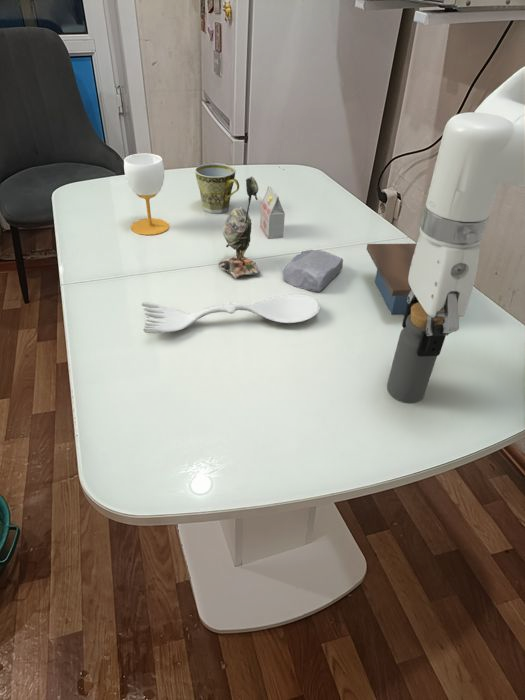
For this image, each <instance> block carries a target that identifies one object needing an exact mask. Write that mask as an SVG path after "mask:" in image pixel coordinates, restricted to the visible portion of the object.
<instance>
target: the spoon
mask: <svg viewBox="0 0 525 700" xmlns="http://www.w3.org/2000/svg"><path fill="white" fill-rule="evenodd" d="M140 304H141V306H142V307H144V308H143V311H145V312H144V313H143V314H144V315H145V316H148V317H146V318H145V320H146V323H145V326H144V329H142V330H143V332H144V333H145V334H161V333H171V332H178V331H181V330H182V331H183V330H184V329H186V328H187V327H189V326H191V325H192V324H193V323H195V322H197V321H198V320H200V319H201V318H203V317H205V316H207V315H212V314H215V313H228V314H234V313H235V312H236V311H246V312H251V313H254V314H256V315H258V316H260V317H261V318H264V319H266V320H269V321H272V322H275V323H281V324H296V323H301V322H305V321H307V320H310V319H312V318H314V317H315V316H317V314H318V313H319V311H320V309H321V308H320V303H319V301H318V299H316V298H315V297H314V296H312V295H309V294H303V293H300V294H299V293H293V294H292V293H291V294H285V295H279V296H278V295H277V296H273V297H269V298H266V299H263V300H261V301H258V302H255V303H251V304H250V303H249V304H244V303H243V304H242V303H241V304H239V303H233V302H226V303H225V304H222V305H213V306H209V307H206V308H203V309H200V310H197V311H195V312H185V311H182V310H180V309H177V308H174V307H168V306H163V305H160V304H157V303H153V302H150V301H143V302H141V303H140Z"/></svg>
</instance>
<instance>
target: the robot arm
mask: <svg viewBox="0 0 525 700" xmlns="http://www.w3.org/2000/svg"><path fill="white" fill-rule="evenodd" d="M502 186H511V187H522V188H525V65H524V66H522V67H521V68H520V69H518V70H517V71H516V72H514V73H513V74H512V75H511V76H510V77H509V78H508V79H506V80H505V81H504V82H503V83H502V84H500V85H499V86H498V87H496V89H495V90H494V91H492V92H491V93H490V94H489V95H488V96H486V98H485V99H483V101H482V102H481V103H480V104H479V105H478V106H477V108H476V109H474V112H473V111H472V112H470V111H469V112H462V113H457V114H455V115H453V116H452V117H450V119H448V121H447V122H446V124H445V126H444V129H443V133H442V137H441V141H440V145H439V149H438V152H437V157H436V161H435V164H434V168H433V173H432V178H431V181H430V185H429V190H428V193H427V198H426V201H425V205H424V210H423V214H422V218H421V221H420V225H419V229H418V230H419V236H418V239H417V242H416V244H417V245H416V248H415V251H414V255H413V258H412V262H411V266H410V271H409V277H408V282H409V287H410V293H409V295H408V297H407V302H408V303H409V304H407V307H406V311H405V314H403V315H404V316H403V319H402V323H401V326H402V328H405V327H406V319H407V317H408V315H410V314H411V307H412V305H413V304H415V303H418V302H419V303H420V304H421V306H422V307H423V309H424V310H425V312H426V313H427V324H426V331H422V335H421V338H420V342H419V345H418V349H417V355H418V356H420V357H421V356H437V357H438V356H440V354H441V351H442V349H443V345H444V342H445V339H446V336H449V335H450V334H452V333H455V332H458V331H459V330H460V323H459V318H463V317H464V316H465V314H466V312H467V309H468V306H469V304H470V299H471V296H472V292H473V289H474V286H475V285H474V284H475V281H476V277H477V272H478V267H479V261H480V254H481V247H480V245H481V243H482V241H483V237H484V234H485V231H486V228H487V226H488V223H489V220H490V216H491V213H492V210H493V207H494V204H495V201H496V198H497V194H498V192H499V189H500V187H502ZM442 308H443V310H444V311H440V310H441V309H442ZM435 318H443V321H442V324H438V325H435V326H434V320H435Z"/></svg>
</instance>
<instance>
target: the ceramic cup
mask: <svg viewBox="0 0 525 700" xmlns="http://www.w3.org/2000/svg"><path fill="white" fill-rule="evenodd" d="M194 172H195V178H196V183H197V187H198V190H199V194H200V198H201V203H202V204H201V205H202V208H203V211H205V212H206V213H209V214H224V213H226V212H228V211H229V208H230V202H231V197H232V196H233V195H234V194H235V193H237V192H238V191H239V190H240V183H239V181H238V180H237V179H236V169H235V167H234V166H231V165H228V164H225V163H205V164H200V165H198V166H196V167H195V169H194ZM234 184H235V186H236V189H235V190H234V191H232V190H233V187H234Z"/></svg>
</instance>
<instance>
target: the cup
mask: <svg viewBox="0 0 525 700" xmlns="http://www.w3.org/2000/svg"><path fill="white" fill-rule="evenodd" d="M123 171H124V176H125V180H126V182H127V184H128V187H129V189H130V190H131V191H132V193H134V194H135V195H136V196H137V197H139V198H141V199H144V200H145V205H146V214H147V218H142V219H139V220H137V221H134V222H132V224H131V225H130V228H131V231H132V232H133V233H135V234H137V235H140V236H156V235H161V234H163V233H166V232H167V231H168V230H169V228H170V224H169V223H168V222H167V221H166V220H164V219H162V218H154V217H153V218H152V213H151V203H150V199H152V198H155V197H156V196H157V195H158V194H159V193H160V192H161V191H162V188H163V186H164V182H165V181H164V180H165V165H164V160H163V157H162V156H160V155H158V154H155V153H143V152H142V153H135V154H130V155H127V156H126V157H124V159H123Z"/></svg>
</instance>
